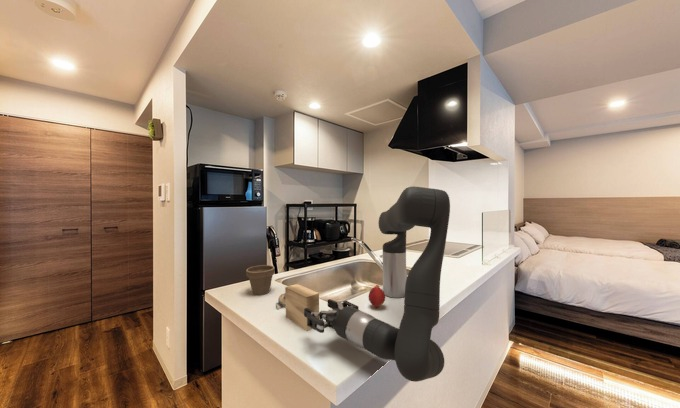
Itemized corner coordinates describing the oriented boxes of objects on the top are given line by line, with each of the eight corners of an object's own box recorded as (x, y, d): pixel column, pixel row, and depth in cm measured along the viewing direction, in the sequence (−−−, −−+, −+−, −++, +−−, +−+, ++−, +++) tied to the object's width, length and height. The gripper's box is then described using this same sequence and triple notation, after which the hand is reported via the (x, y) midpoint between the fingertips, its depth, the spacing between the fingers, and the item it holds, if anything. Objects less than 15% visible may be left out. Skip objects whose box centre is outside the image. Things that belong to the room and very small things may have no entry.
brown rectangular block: (297, 313, 85) (297, 283, 85) (319, 325, 76) (318, 293, 76) (285, 317, 82) (285, 287, 82) (307, 331, 73) (306, 297, 73)
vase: (290, 302, 94) (290, 286, 94) (292, 309, 89) (292, 292, 89) (275, 303, 92) (276, 288, 92) (277, 311, 87) (277, 294, 87)
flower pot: (247, 289, 108) (246, 265, 108) (274, 286, 112) (273, 263, 112) (245, 299, 97) (245, 273, 97) (275, 295, 101) (275, 270, 101)
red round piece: (371, 311, 85) (371, 288, 85) (366, 304, 91) (366, 282, 91) (387, 309, 86) (387, 286, 86) (381, 303, 92) (381, 281, 92)
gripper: (376, 303, 66) (335, 288, 78) (336, 322, 56) (296, 301, 68) (376, 331, 66) (335, 311, 78) (336, 354, 56) (296, 328, 68)
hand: (317, 306), depth 73 cm, fingers open, 8 cm apart
